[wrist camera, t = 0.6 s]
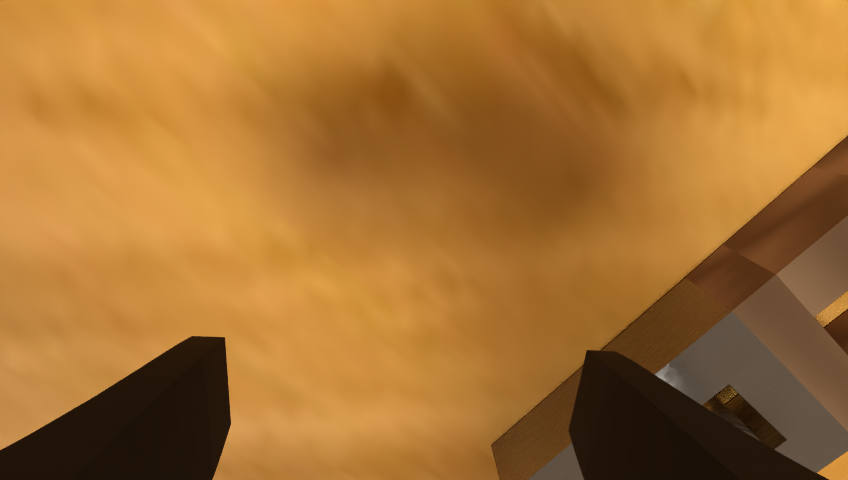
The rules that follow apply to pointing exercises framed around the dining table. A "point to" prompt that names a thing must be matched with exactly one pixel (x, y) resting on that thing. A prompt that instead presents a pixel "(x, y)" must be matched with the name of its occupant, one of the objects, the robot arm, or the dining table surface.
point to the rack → (794, 279)
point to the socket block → (686, 389)
